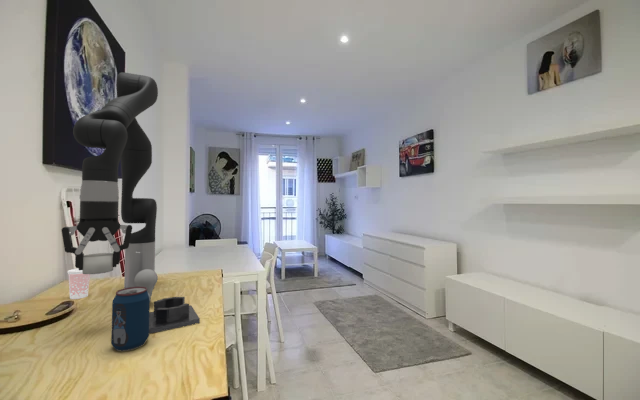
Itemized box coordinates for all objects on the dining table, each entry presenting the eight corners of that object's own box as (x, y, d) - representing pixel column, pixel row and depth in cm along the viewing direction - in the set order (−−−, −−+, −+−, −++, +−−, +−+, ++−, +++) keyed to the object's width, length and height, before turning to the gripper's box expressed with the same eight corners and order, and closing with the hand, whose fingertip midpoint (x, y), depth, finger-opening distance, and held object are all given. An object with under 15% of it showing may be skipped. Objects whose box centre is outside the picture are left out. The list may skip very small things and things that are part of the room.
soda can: (149, 335, 67) (151, 284, 68) (147, 348, 61) (148, 292, 61) (114, 341, 64) (115, 287, 64) (107, 355, 58) (109, 296, 58)
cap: (84, 270, 71) (85, 254, 71) (114, 267, 74) (114, 252, 74) (80, 275, 66) (80, 258, 66) (111, 272, 69) (112, 256, 69)
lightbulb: (146, 309, 84) (147, 272, 84) (128, 307, 85) (129, 271, 85) (161, 302, 90) (162, 267, 90) (145, 301, 91) (145, 266, 91)
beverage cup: (94, 295, 96) (95, 254, 96) (72, 301, 90) (73, 256, 91) (85, 293, 99) (86, 252, 99) (63, 298, 93) (64, 255, 93)
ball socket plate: (143, 317, 78) (144, 300, 78) (191, 309, 84) (191, 293, 84) (146, 334, 68) (146, 314, 68) (199, 323, 74) (199, 305, 74)
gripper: (134, 200, 77) (132, 262, 77) (64, 199, 69) (62, 268, 69) (135, 200, 71) (133, 267, 71) (57, 199, 63) (55, 275, 63)
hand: (98, 267), depth 70 cm, fingers closed on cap, 6 cm apart
